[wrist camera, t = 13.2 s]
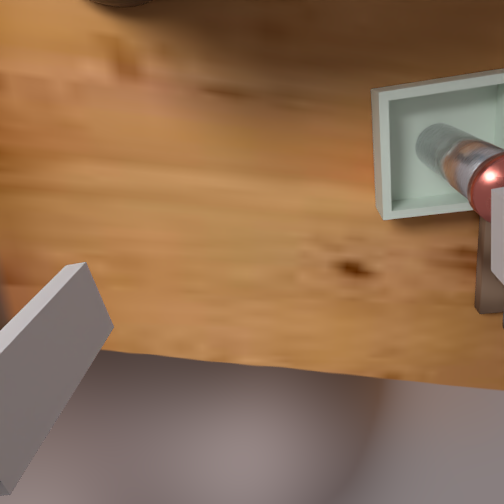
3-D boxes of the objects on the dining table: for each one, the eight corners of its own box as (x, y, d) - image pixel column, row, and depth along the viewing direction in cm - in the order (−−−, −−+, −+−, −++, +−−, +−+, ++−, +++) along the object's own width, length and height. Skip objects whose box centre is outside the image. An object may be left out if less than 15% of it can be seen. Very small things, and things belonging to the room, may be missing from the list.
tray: (370, 88, 40) (378, 92, 37) (503, 68, 39) (525, 69, 35) (375, 206, 45) (383, 220, 41) (494, 192, 43) (513, 205, 40)
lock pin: (411, 123, 40) (475, 160, 27) (463, 116, 40) (556, 149, 26) (412, 172, 42) (472, 229, 28) (461, 165, 42) (547, 221, 28)
